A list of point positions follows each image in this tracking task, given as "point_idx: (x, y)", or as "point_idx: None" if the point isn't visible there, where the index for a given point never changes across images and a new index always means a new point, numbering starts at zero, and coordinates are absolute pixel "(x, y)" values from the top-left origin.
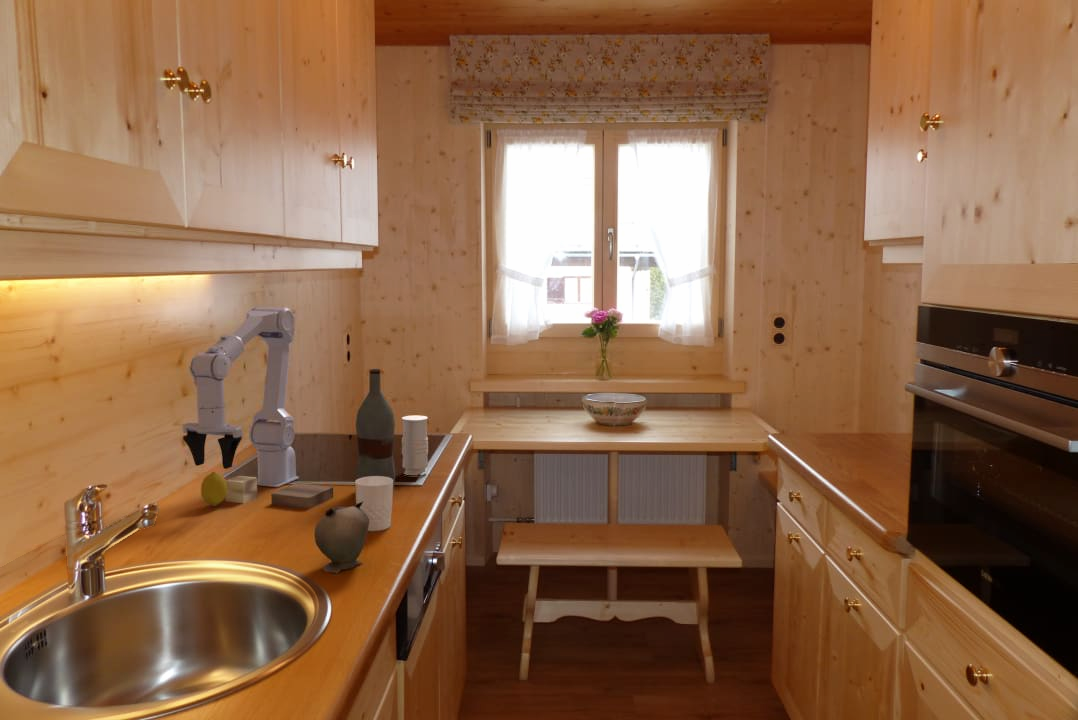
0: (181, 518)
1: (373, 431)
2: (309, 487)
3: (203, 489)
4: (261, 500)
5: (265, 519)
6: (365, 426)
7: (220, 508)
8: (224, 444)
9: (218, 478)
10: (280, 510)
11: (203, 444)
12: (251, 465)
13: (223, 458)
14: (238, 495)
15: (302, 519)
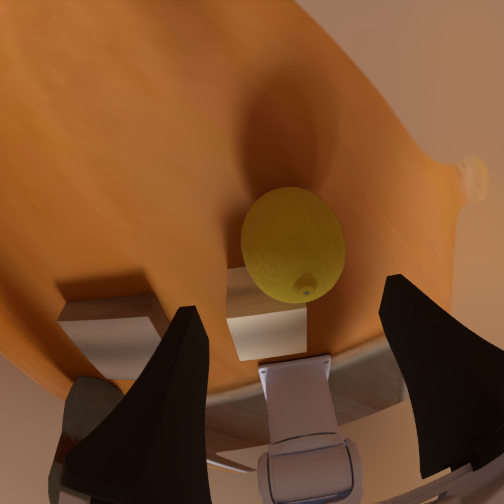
0: (275, 55)
1: (51, 473)
2: (133, 368)
3: (305, 200)
4: (207, 304)
5: (51, 202)
6: (58, 484)
7: (247, 202)
8: (91, 450)
9: (263, 271)
10: (93, 270)
11: (417, 406)
12: (392, 390)
13: (168, 355)
14: (246, 282)
15: (12, 247)
